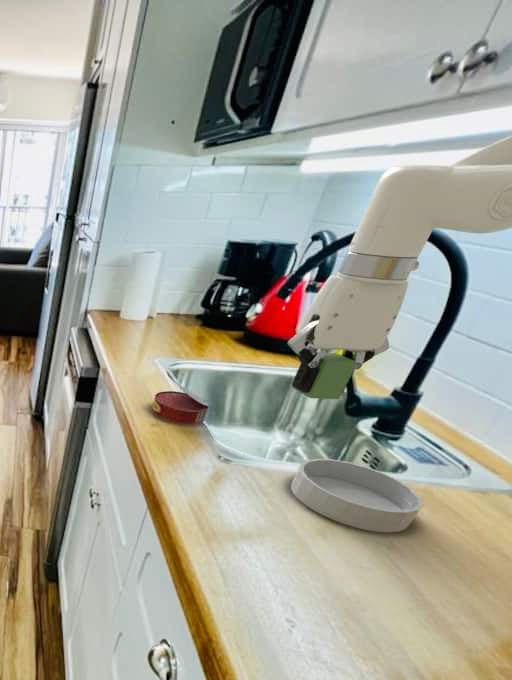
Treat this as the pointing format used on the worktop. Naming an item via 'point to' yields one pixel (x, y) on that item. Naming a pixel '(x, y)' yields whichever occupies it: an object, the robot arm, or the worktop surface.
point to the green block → (331, 377)
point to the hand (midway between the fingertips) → (316, 388)
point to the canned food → (180, 406)
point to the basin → (356, 495)
